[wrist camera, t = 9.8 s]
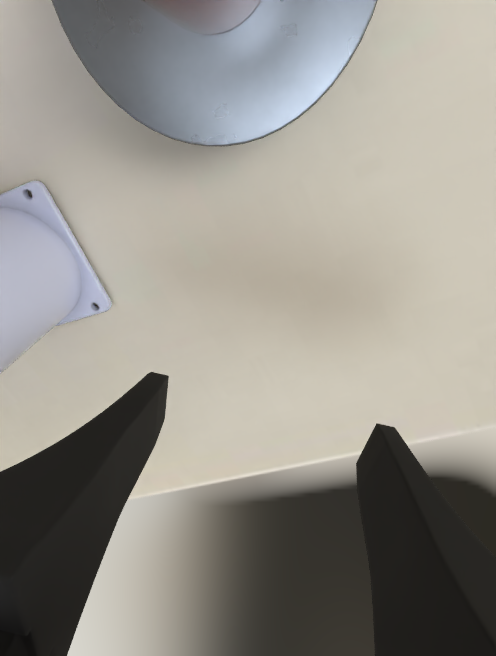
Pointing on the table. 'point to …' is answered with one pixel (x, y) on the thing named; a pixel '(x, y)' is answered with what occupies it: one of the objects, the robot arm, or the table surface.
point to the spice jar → (204, 13)
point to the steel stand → (216, 64)
